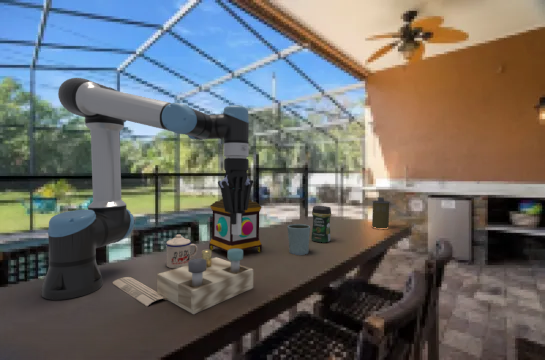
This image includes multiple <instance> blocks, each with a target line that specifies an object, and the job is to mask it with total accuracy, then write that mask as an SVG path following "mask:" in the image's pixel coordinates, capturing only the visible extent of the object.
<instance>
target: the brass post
mask: <svg viewBox="0 0 545 360" xmlns="http://www.w3.org/2000/svg"><path fill="white" fill-rule="evenodd" d="M212 253H213V250H210V249H208V248H207V249H203V250H201V259H205V260H206V268H208V267H211V262H212V258H213V257H212V256H213V255H212Z"/></svg>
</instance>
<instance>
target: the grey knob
mask: <svg viewBox="0 0 545 360" xmlns="http://www.w3.org/2000/svg"><path fill="white" fill-rule="evenodd" d="M188 271H189V272H191V273H192V286H201V285H202V284H203V272H204V271H206V260H205V259H202V258H192V259H190V260H189V261H188Z"/></svg>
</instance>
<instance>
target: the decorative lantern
mask: <svg viewBox="0 0 545 360" xmlns="http://www.w3.org/2000/svg"><path fill="white" fill-rule="evenodd" d="M233 189H234V188H233ZM209 206H210V209H211V211H212V236H211V239H210V241H209V245H208V247H209V249H210V250H212V251H213V250H214V247H215V248H217V249H220V250H222V251H224V252H227V253H228V250H229V249H242V250H243V251H245V250H246V251H247V250H249V249H254V248H257V251H258V253H261V252H262V250H263V244H262V242H261V240H260V212H261V210H262V208H263V207H262V205H260V203H258V202H257V201H253V200H252V199H249V203H248V209H247V210H245V213H242V223H241V235H234V234H232V224H231V223H230V213H228V212H225V209H224V204H223V199H222V198H221V199H219V200H217V201H214V202H212V204H211V205H209Z"/></svg>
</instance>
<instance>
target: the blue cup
mask: <svg viewBox="0 0 545 360" xmlns="http://www.w3.org/2000/svg"><path fill="white" fill-rule="evenodd" d="M286 228H287V235H288V248H289V249H288V251H289V254H291V255H294V254H295V256H305V254H306V255H308V254H309V250H310V249H309V244H310V232H311V226H310V225H308V224H305V223H304V224H303V223H294V224H289V225H287V227H286Z"/></svg>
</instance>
